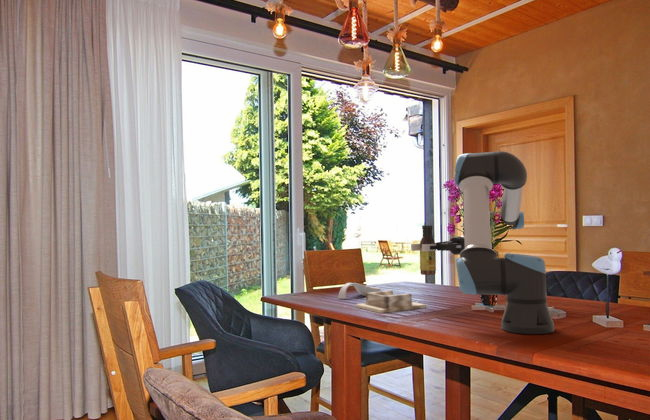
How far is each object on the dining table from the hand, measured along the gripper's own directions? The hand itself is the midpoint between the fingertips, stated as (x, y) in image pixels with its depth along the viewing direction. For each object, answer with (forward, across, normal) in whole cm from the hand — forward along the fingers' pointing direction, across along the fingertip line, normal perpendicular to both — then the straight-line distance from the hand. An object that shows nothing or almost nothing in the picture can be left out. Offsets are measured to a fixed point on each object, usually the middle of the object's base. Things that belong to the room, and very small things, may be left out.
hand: (417, 247), depth 196 cm
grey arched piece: (0, +45, -25) cm, 51 cm away
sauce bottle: (-5, 0, -11) cm, 12 cm away
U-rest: (+7, +10, -24) cm, 27 cm away
